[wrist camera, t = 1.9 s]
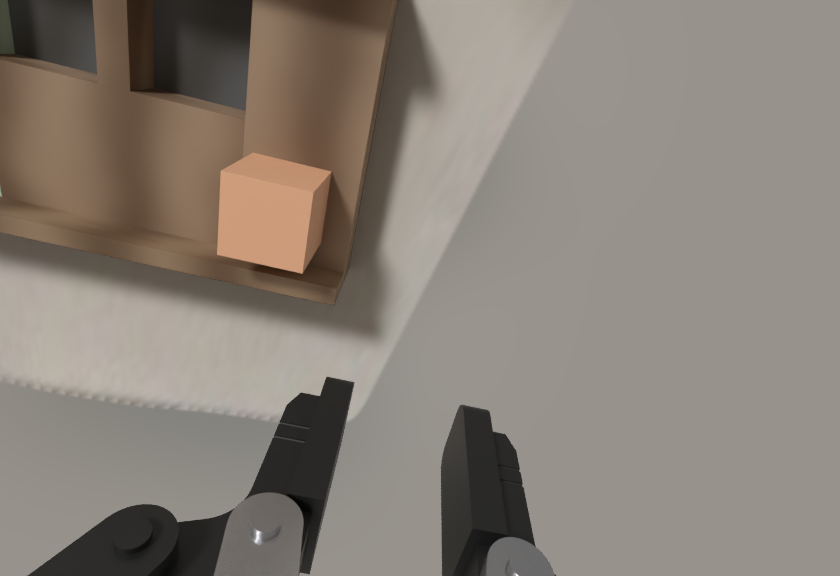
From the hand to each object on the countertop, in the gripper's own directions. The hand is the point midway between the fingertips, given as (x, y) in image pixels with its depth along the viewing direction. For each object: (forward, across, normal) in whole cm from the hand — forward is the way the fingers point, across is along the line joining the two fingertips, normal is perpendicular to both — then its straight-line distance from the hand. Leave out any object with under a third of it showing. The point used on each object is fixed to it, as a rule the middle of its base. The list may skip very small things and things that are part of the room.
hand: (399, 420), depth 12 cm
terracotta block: (+15, +7, 0) cm, 16 cm away
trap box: (+17, +16, -4) cm, 23 cm away
